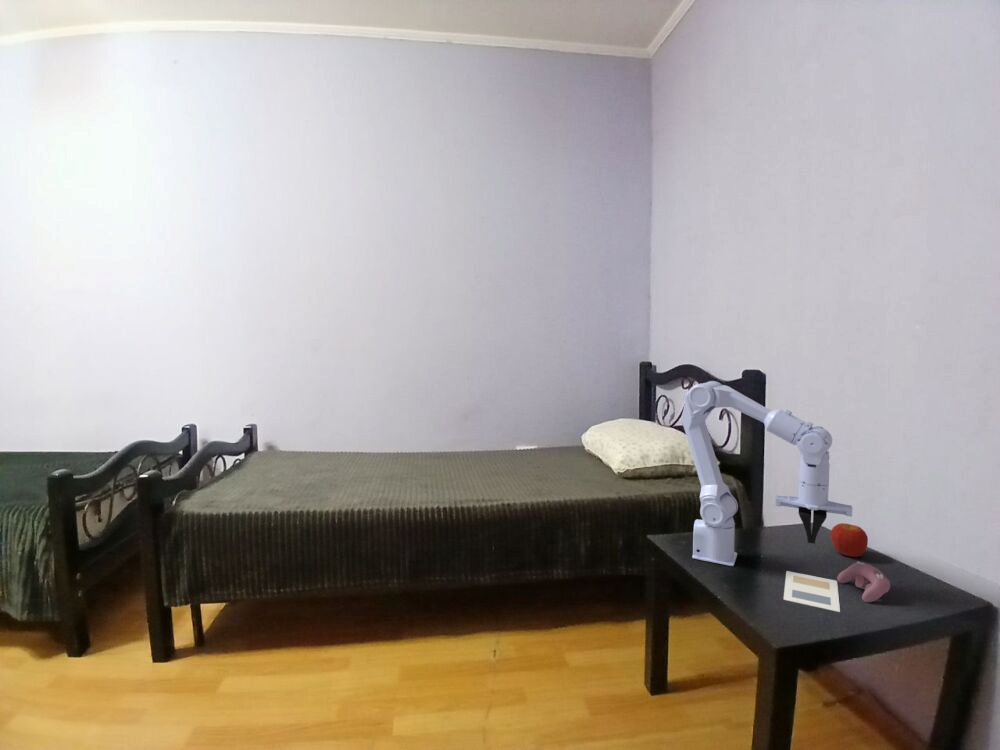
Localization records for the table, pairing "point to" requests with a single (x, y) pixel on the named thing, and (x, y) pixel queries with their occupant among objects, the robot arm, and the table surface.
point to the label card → (811, 591)
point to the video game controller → (866, 580)
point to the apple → (849, 539)
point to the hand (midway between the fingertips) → (811, 541)
